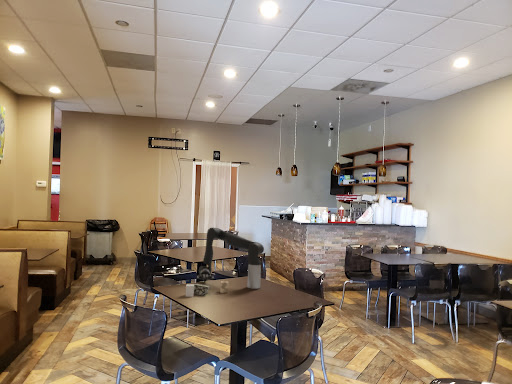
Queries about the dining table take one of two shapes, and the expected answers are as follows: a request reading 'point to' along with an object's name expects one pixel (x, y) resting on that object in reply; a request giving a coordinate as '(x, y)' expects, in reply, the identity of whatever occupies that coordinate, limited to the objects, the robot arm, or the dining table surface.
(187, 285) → the grey block
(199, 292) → the food container
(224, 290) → the birch block
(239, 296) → the dining table surface
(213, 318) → the dining table surface
